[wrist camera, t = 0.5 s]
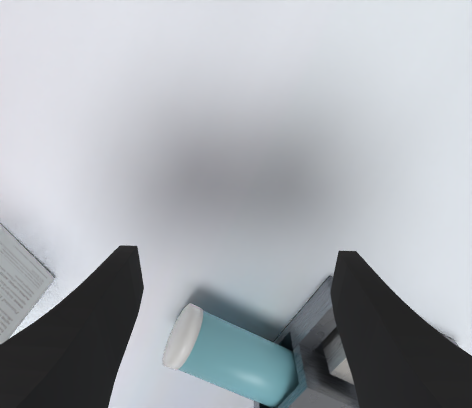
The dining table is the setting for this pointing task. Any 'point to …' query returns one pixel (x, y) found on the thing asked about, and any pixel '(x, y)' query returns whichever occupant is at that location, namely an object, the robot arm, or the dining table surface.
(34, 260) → the skincare box
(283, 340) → the housing
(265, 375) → the cylinder
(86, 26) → the dining table surface
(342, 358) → the plunger
